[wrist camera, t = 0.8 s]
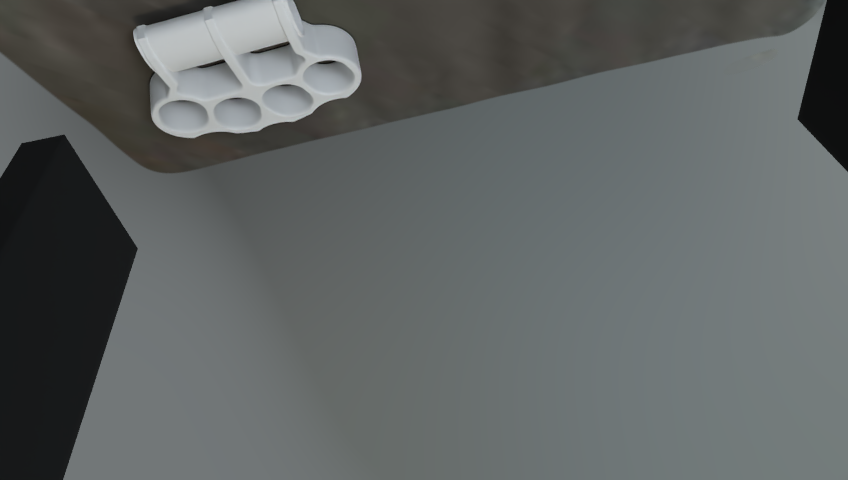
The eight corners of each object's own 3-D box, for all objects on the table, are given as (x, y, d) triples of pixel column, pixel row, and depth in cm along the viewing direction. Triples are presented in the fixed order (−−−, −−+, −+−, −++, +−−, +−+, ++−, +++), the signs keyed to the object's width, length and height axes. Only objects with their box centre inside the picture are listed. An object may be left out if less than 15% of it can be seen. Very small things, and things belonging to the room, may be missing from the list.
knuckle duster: (323, -38, 48) (370, 79, 62) (91, 27, 50) (186, 128, 63) (330, -2, 47) (376, 109, 61) (91, 63, 48) (188, 158, 62)
